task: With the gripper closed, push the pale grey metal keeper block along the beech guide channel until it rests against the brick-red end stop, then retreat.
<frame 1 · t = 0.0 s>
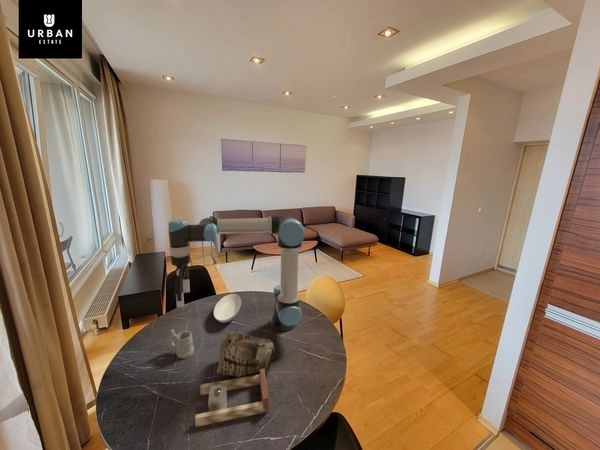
hand: (183, 299, 112), 28 cm above the table, fingers open, 13 cm apart
keeper: (218, 404, 92), resting in channel
channel: (233, 401, 93), on the table
bowl: (228, 315, 150), on the table
sculptural head: (245, 367, 110), on the table
mug: (181, 353, 117), on the table
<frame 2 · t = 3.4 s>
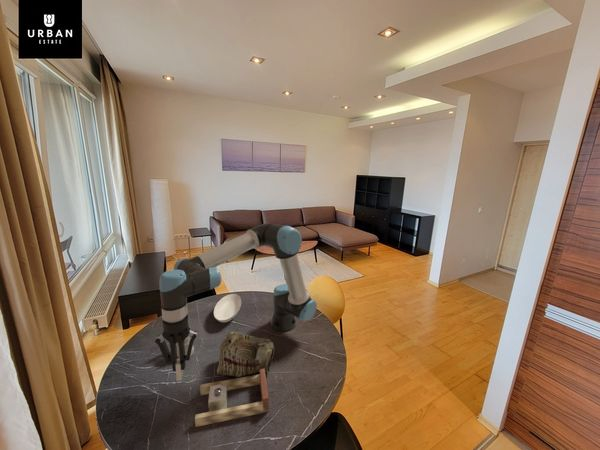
hand: (179, 377, 86), 15 cm above the table, fingers closed
nothing on the table moved.
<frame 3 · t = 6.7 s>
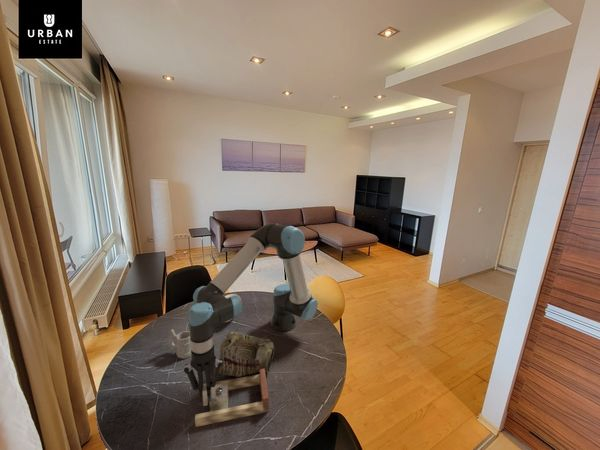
hand: (205, 402, 91), 2 cm above the table, fingers closed
keeper: (219, 404, 92), resting in channel, touching gripper
everything else where it was.
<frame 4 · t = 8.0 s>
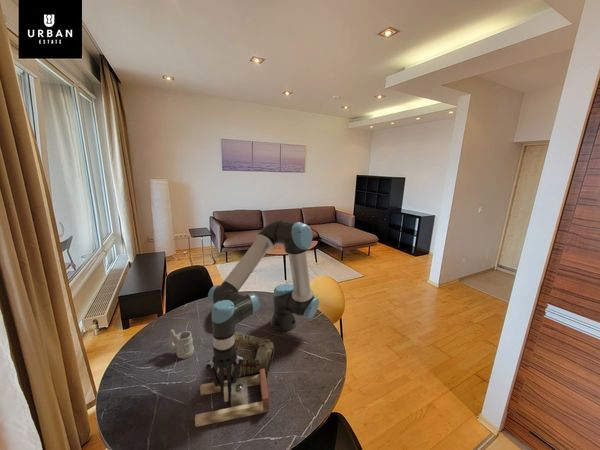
hand: (226, 398, 92), 2 cm above the table, fingers closed
keeper: (239, 400, 94), resting in channel, touching gripper
everything else where it was.
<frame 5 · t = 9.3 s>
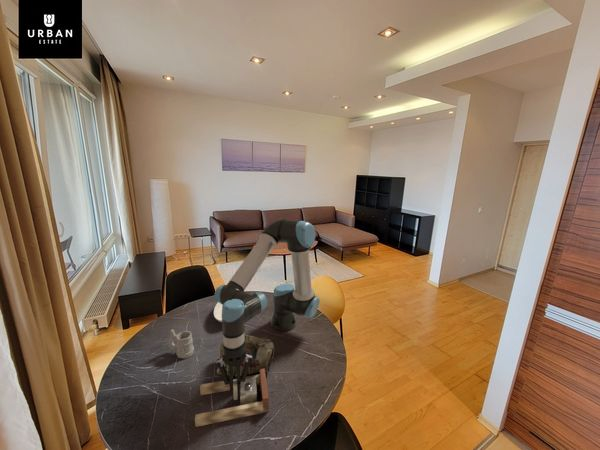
hand: (235, 396, 93), 2 cm above the table, fingers closed
keeper: (248, 399, 94), resting in channel, touching gripper
everything else where it was.
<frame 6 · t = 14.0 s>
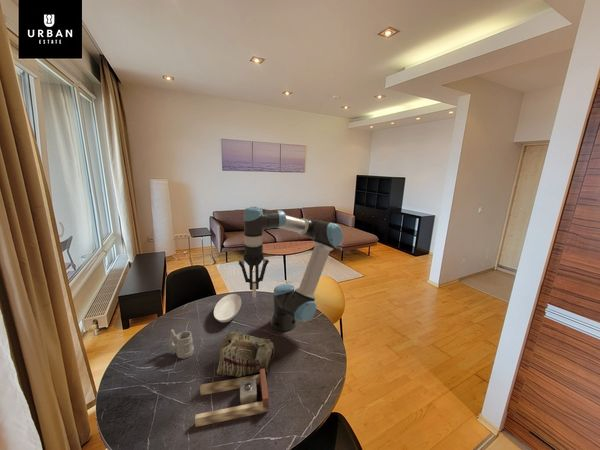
hand: (254, 295, 108), 32 cm above the table, fingers closed
keeper: (248, 399, 94), resting in channel
everything else where it was.
at the end: keeper inside the target area (0.6 cm from its centre), resting in channel; keeper moved 11.1 cm from its start; keeper tilted 0° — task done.
